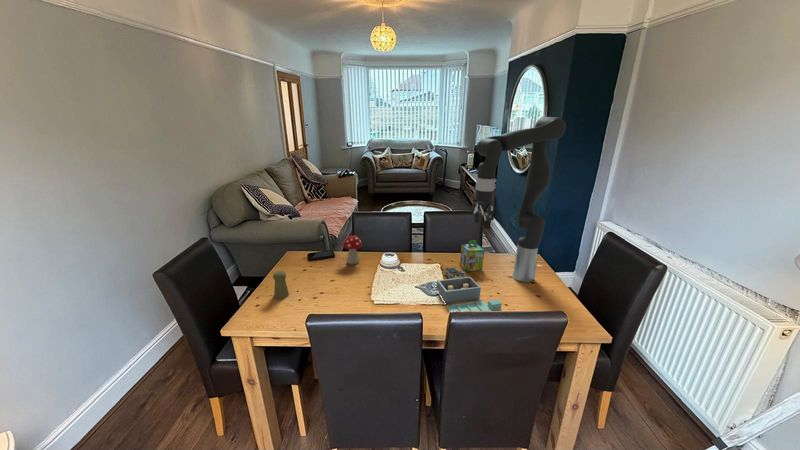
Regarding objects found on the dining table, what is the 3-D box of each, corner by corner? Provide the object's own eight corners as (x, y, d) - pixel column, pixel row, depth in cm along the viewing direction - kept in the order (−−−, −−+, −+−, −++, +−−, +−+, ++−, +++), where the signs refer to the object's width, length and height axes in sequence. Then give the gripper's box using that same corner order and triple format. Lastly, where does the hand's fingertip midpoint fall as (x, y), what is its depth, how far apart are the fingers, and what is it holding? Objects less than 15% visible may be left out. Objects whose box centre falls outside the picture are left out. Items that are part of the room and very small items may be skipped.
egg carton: (466, 281, 157) (467, 273, 155) (453, 283, 154) (454, 276, 152) (454, 271, 166) (455, 264, 165) (442, 273, 163) (442, 266, 162)
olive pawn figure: (280, 300, 137) (277, 277, 133) (271, 296, 140) (268, 273, 136) (292, 294, 141) (289, 271, 138) (282, 290, 144) (280, 267, 141)
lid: (492, 301, 140) (492, 294, 139) (506, 315, 130) (507, 308, 129) (446, 307, 134) (446, 301, 133) (457, 323, 125) (457, 316, 124)
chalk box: (466, 272, 165) (468, 245, 160) (459, 264, 173) (461, 238, 168) (482, 270, 167) (485, 244, 162) (475, 263, 175) (477, 237, 170)
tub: (469, 288, 149) (470, 276, 148) (479, 299, 140) (480, 287, 138) (436, 292, 146) (437, 280, 144) (444, 304, 136) (445, 291, 134)
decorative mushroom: (359, 257, 178) (359, 232, 173) (364, 264, 171) (364, 237, 166) (341, 260, 174) (340, 234, 169) (346, 267, 167) (345, 240, 162)
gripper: (502, 192, 129) (497, 230, 134) (484, 184, 142) (480, 219, 147) (485, 193, 127) (481, 231, 132) (468, 185, 140) (465, 221, 145)
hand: (481, 225), depth 140 cm, fingers open, 8 cm apart
